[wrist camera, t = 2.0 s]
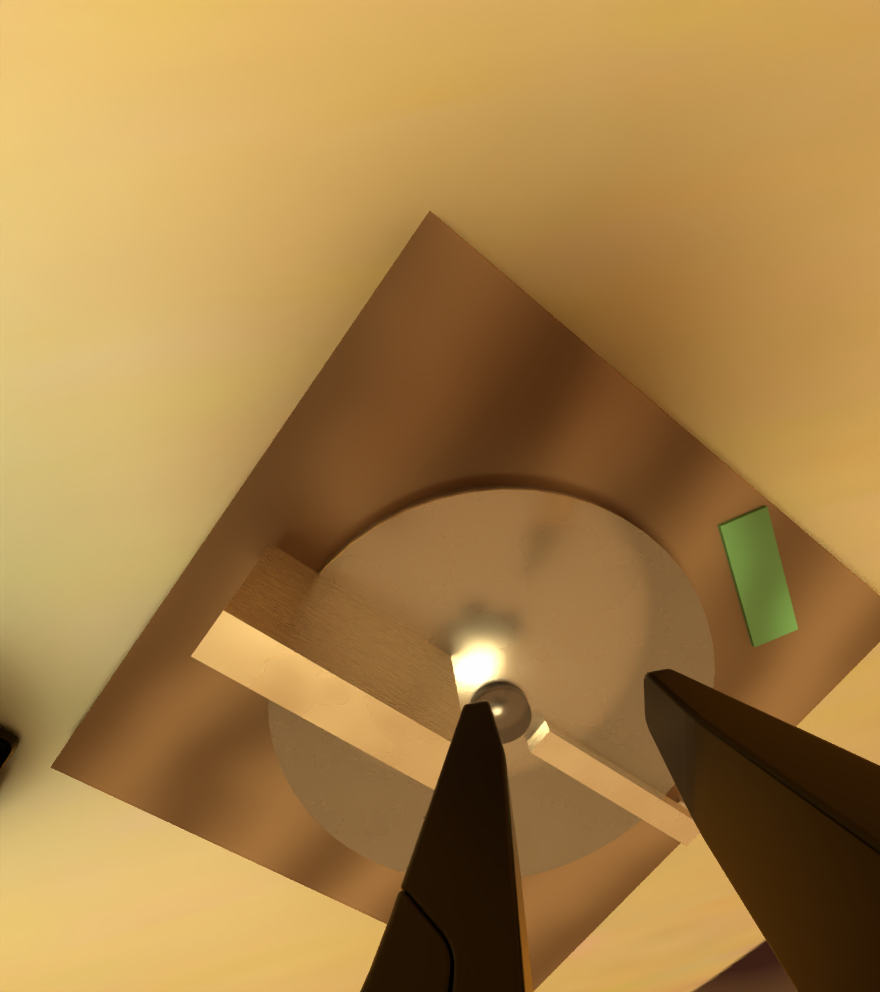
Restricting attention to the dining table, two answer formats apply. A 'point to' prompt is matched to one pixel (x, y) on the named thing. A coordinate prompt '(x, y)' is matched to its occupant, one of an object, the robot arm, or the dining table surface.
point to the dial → (471, 667)
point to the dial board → (434, 469)
